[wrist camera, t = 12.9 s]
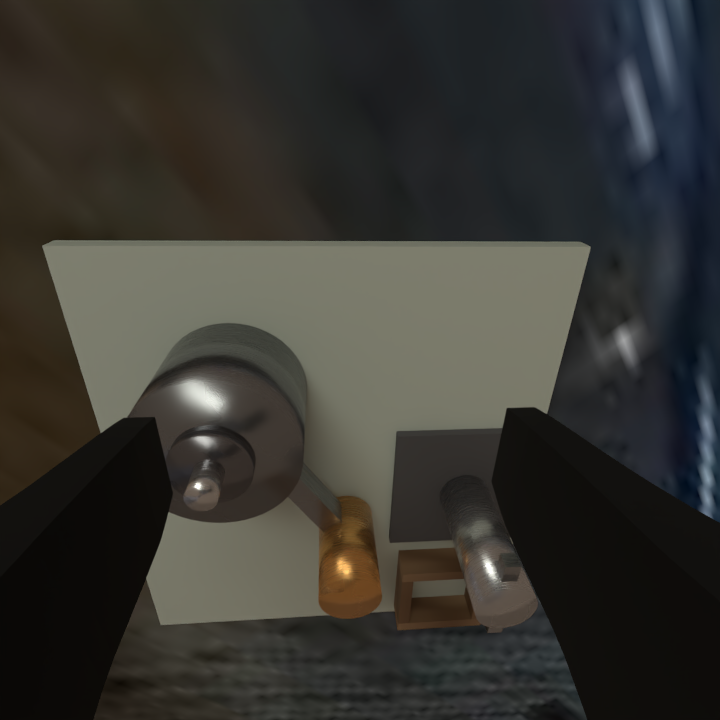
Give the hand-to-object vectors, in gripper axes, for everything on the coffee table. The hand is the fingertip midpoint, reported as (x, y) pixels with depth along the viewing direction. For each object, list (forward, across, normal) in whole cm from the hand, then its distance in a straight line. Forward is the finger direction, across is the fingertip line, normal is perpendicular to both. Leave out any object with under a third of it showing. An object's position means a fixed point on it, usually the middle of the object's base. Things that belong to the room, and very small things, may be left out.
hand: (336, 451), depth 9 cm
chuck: (+9, +4, +4) cm, 11 cm away
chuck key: (+9, -6, +10) cm, 15 cm away
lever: (+8, 0, +10) cm, 13 cm away
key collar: (+9, -6, +17) cm, 20 cm away
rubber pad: (+9, -6, +10) cm, 15 cm away
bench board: (+10, 0, +9) cm, 13 cm away
